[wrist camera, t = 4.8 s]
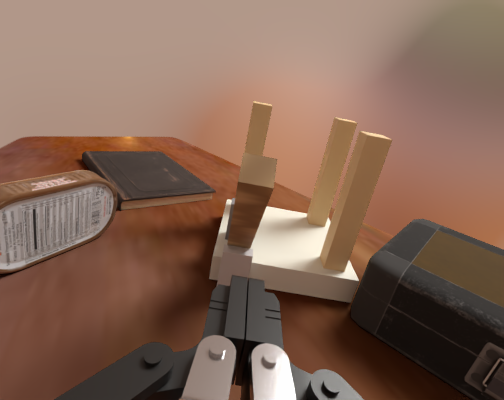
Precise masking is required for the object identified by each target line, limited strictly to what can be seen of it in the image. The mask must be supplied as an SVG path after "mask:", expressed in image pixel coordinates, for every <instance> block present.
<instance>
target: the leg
mask: <svg viewBox="0 0 504 400" xmlns="http://www.w3.org/2000/svg"><path fill="white" fill-rule="evenodd" d="M276 164H277V159H274V158H269V157H263V156H258V155H253V154H248V153H243V158H242V164H241V169H240V174H239V180H238V185H237V191H236V197H235V203H234V209H233V214H232V220H231V226H230V232H229V238H228V243H227V245H232V246H237V247H243V248H249V249H250V248H251V245H252V243H253V240H254V238H255V235H256V232H257V230H258V227H259V225H260V222H261V219H262V217H263V214H264V212H265V209H266V207H267V204H268V201H269V199H270V196H271V194H272V191H273V188H274V180H275V172H276Z"/></svg>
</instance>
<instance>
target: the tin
mask: <svg viewBox="0 0 504 400" xmlns="http://www.w3.org/2000/svg"><path fill="white" fill-rule="evenodd" d="M116 208H117V191H116V189H115V188H114V186H113V185H112V184H111V183H110V182H108V181H107V180H105V179H103V178H101V177H100V176H99V175H97V174H96V173H94V172H91V171H87V170H76V171H71V172H65V173H60V174H54V175H48V176H43V177H37V178H31V179H25V180H19V181H13V182H7V183H2V184H0V274H3V273H11V272H16V271H19V270H22V269H25V268H27V267H30V266H32V265H35V264H37V263H40V262H42V261H45V260H47V259H49V258H52V257H54V256H57V255H59V254H62V253H64V252H67V251H69V250H71V249H74V248H76V247H79V246H81V245H84V244H86V243H89V242H91V241H93V240H94V239H96V238H97V237H99V236H100V235H101V234H102V233H103V232H104V231H105V230H106V229H107V228H108V227H109V225H110V224H111V222H112V221H113V219H114V216H115V213H116Z"/></svg>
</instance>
